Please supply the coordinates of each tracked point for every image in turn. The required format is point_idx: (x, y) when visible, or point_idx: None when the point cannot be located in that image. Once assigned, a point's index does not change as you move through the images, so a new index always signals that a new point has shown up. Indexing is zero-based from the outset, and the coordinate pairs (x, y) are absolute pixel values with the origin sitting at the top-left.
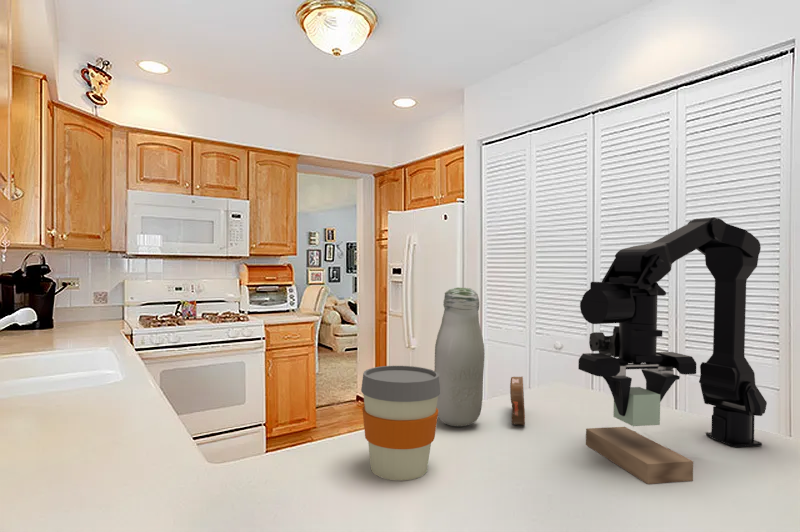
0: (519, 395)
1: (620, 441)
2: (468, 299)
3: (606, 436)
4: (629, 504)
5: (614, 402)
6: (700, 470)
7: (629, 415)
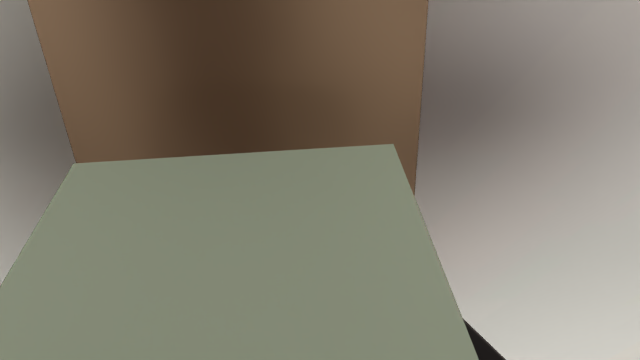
0: None
1: (162, 126)
2: None
3: (93, 15)
4: None
5: (15, 283)
6: (517, 227)
7: None
